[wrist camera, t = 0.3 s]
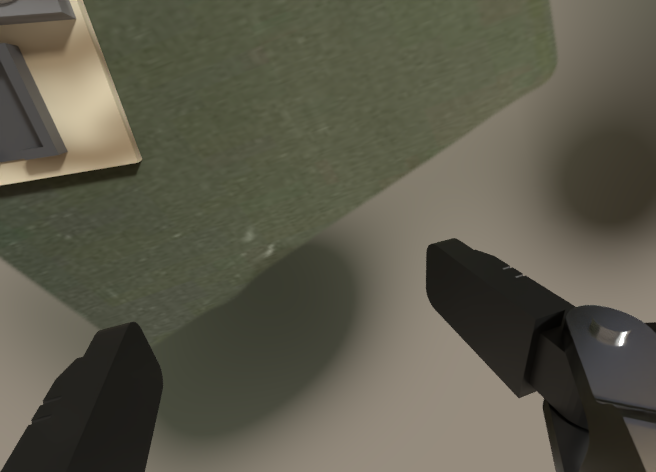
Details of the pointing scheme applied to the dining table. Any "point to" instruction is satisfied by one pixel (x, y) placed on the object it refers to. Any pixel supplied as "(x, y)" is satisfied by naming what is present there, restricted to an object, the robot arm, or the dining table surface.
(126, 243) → the dining table surface
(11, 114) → the frame
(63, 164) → the board
